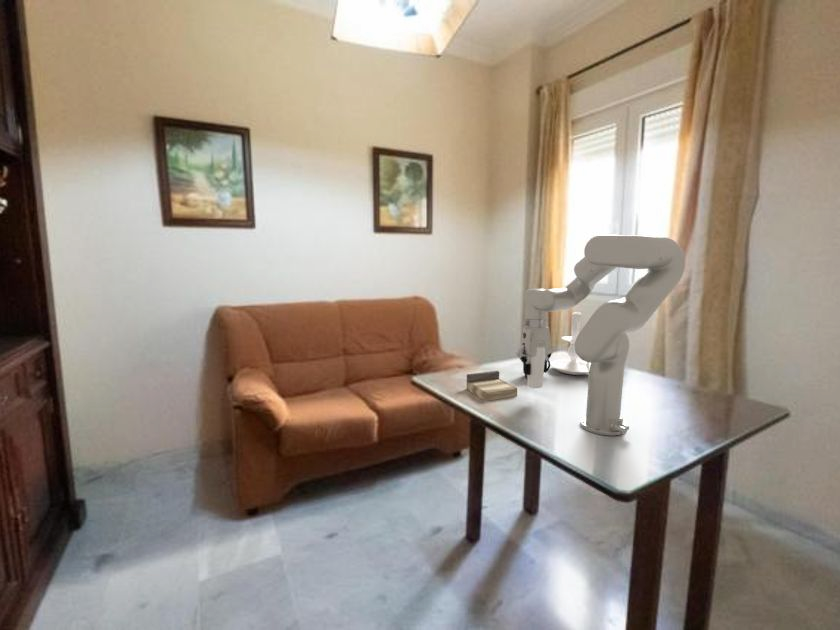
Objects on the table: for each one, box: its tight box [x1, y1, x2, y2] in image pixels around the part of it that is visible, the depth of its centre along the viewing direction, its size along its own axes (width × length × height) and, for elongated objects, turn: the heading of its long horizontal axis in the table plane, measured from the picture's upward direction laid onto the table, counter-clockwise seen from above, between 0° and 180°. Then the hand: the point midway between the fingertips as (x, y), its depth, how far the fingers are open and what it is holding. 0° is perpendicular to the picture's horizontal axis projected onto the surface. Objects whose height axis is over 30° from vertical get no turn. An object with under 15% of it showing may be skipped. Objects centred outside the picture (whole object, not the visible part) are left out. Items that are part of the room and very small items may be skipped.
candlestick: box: [550, 311, 591, 376], centre depth 180 cm, size 21×25×28 cm
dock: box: [466, 370, 518, 402], centre depth 156 cm, size 14×14×6 cm
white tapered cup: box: [526, 347, 545, 389], centre depth 145 cm, size 7×7×15 cm
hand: (535, 372), depth 146 cm, fingers closed on white tapered cup, 6 cm apart
